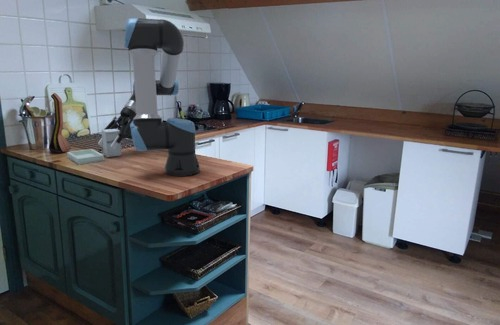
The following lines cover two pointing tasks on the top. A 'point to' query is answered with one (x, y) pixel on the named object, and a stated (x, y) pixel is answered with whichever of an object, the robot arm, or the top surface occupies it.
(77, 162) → the tray
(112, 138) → the supplement box
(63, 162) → the top surface
